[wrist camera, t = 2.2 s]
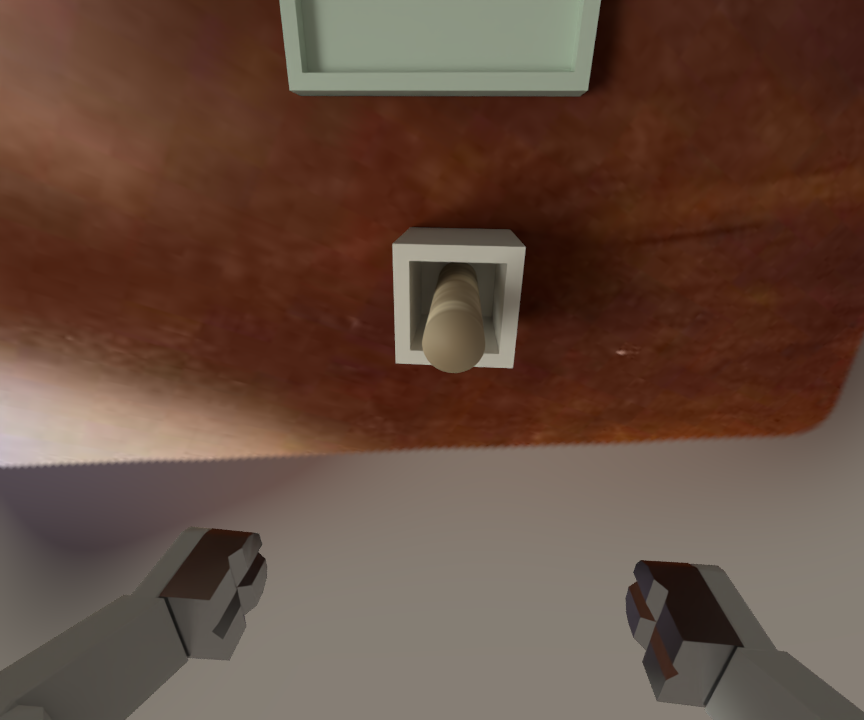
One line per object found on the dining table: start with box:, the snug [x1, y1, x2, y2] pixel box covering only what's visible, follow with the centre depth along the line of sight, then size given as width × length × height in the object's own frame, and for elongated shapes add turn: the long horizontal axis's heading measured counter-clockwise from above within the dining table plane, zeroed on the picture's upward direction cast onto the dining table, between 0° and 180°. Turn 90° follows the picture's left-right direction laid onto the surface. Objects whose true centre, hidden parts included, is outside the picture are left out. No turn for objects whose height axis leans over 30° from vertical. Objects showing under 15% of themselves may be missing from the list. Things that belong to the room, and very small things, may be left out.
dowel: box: [422, 262, 485, 373], centre depth 27 cm, size 3×3×14 cm
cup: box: [393, 227, 526, 368], centre depth 30 cm, size 8×8×9 cm
